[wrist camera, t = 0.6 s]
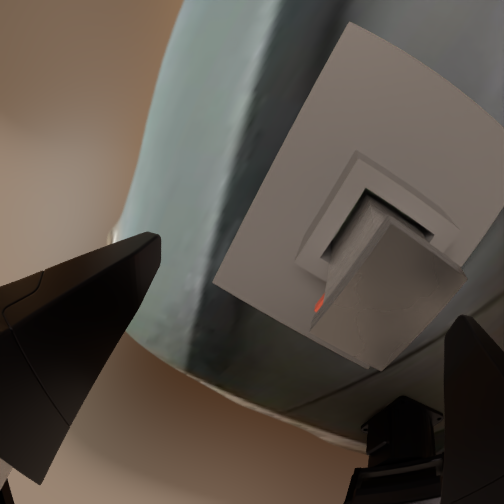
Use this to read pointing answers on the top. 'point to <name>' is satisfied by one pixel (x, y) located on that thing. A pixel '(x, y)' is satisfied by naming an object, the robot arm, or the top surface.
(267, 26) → the top surface
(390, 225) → the grey-brown stepped block
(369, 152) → the jack stand base
